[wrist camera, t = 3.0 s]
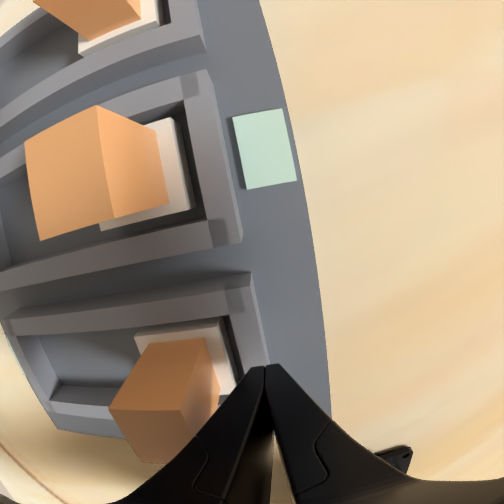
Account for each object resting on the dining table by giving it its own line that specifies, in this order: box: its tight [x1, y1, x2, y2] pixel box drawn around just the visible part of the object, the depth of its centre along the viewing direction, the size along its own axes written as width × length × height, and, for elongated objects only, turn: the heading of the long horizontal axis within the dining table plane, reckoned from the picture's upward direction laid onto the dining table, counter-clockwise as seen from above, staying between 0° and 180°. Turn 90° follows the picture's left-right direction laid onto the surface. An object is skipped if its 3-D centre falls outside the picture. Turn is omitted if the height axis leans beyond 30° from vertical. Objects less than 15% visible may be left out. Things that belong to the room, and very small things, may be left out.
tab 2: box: [24, 105, 197, 241], centre depth 7 cm, size 3×3×5 cm
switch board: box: [0, 0, 332, 439], centre depth 10 cm, size 22×16×2 cm
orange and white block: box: [108, 316, 238, 464], centre depth 8 cm, size 3×3×5 cm
